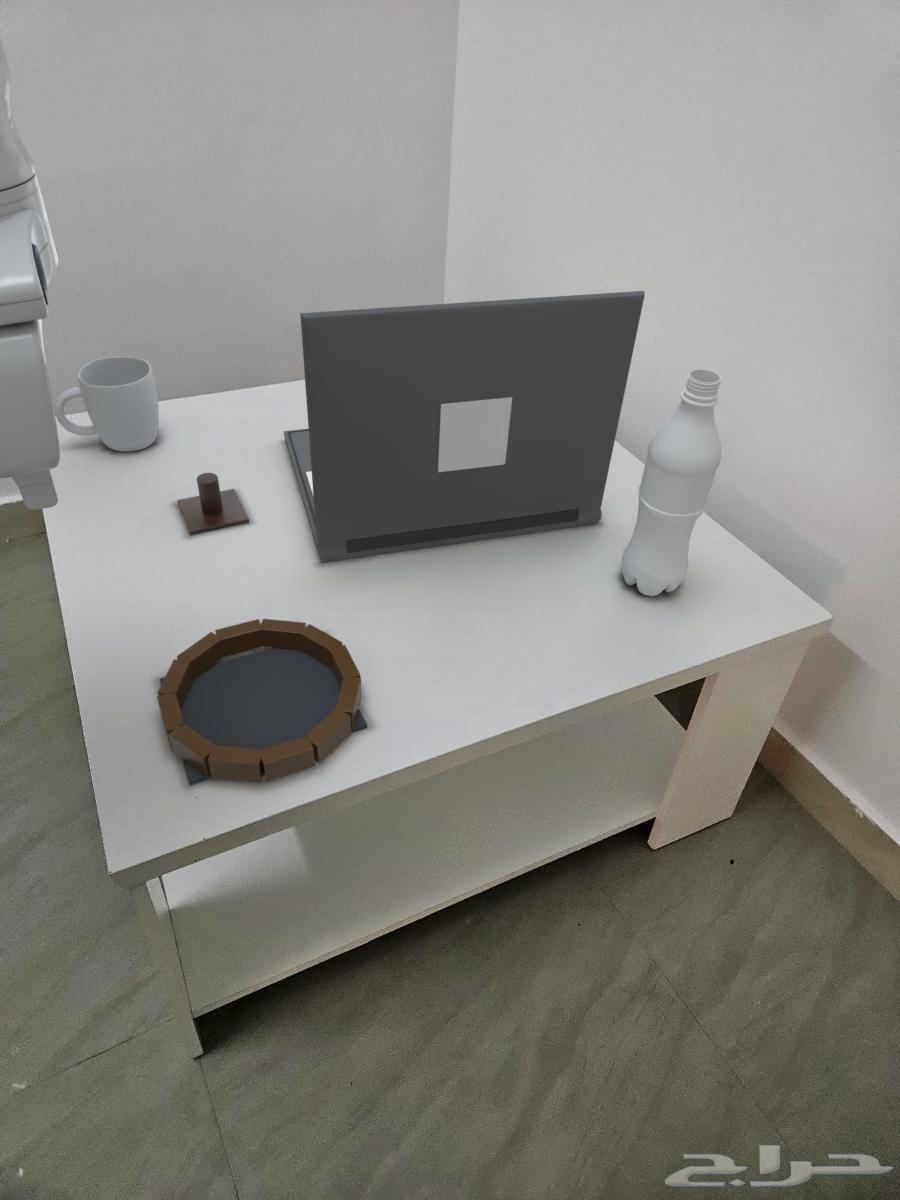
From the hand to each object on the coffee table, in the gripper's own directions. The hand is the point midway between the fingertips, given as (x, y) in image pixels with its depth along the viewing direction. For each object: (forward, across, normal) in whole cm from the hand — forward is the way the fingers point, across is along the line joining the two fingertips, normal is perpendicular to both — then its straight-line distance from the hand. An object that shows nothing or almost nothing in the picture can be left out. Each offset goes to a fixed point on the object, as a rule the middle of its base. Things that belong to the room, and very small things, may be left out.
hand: (35, 463), depth 52 cm
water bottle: (+29, -2, +57) cm, 64 cm away
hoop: (+29, -1, +12) cm, 31 cm away
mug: (+29, -54, +7) cm, 62 cm away
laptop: (+29, -30, +43) cm, 60 cm away
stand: (+29, -33, +15) cm, 46 cm away
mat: (+29, -1, +12) cm, 31 cm away
